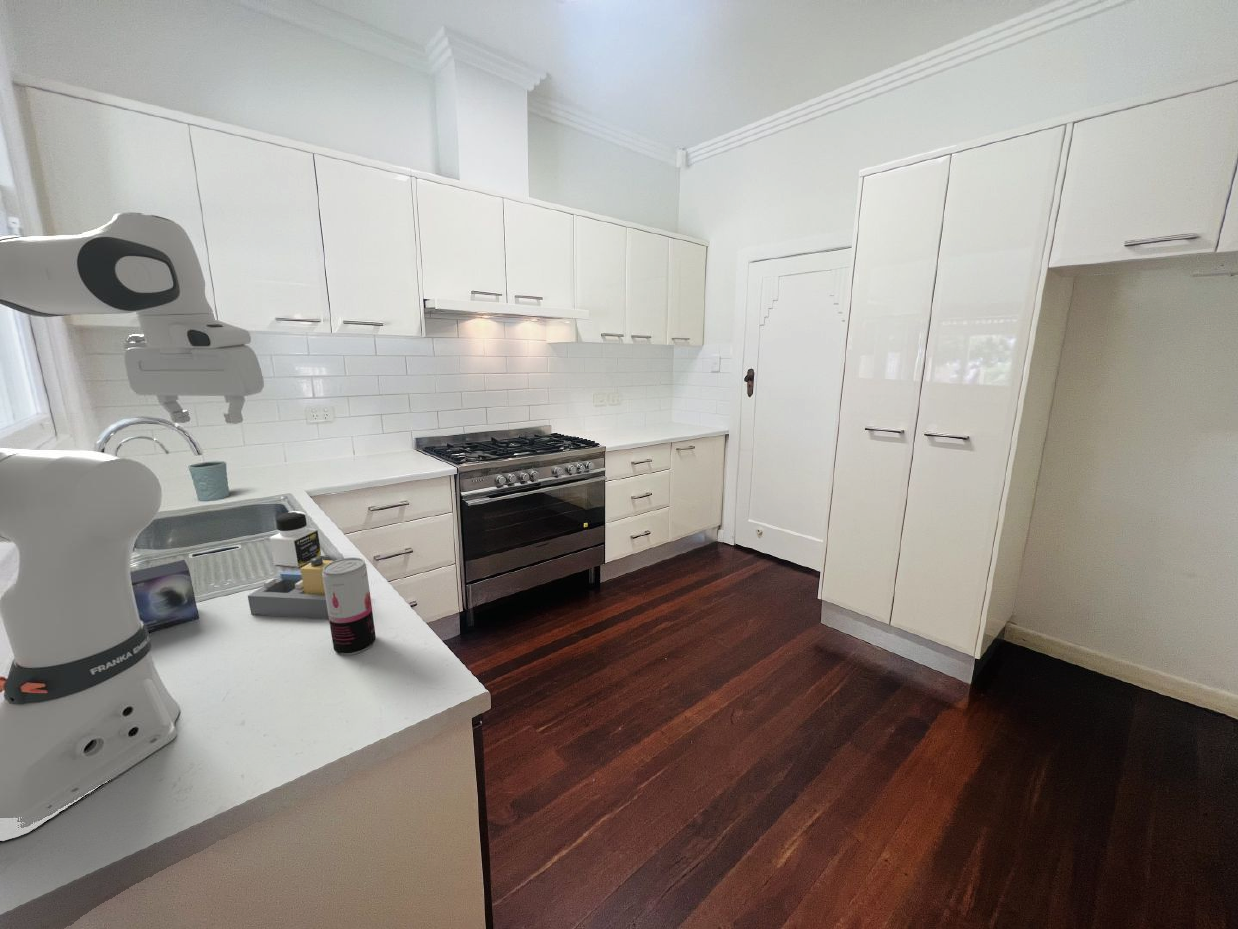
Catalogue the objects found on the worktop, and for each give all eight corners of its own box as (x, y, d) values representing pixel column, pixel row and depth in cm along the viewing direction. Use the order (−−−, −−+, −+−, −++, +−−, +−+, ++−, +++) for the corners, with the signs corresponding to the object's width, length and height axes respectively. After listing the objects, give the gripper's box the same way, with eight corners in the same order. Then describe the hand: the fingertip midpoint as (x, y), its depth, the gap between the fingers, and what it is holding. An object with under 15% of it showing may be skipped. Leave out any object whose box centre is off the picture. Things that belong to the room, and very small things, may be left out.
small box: (124, 642, 88) (109, 587, 86) (122, 628, 93) (108, 576, 90) (200, 618, 96) (189, 568, 93) (195, 607, 100) (184, 558, 98)
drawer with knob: (326, 611, 98) (318, 563, 96) (307, 610, 99) (299, 562, 96) (339, 601, 102) (332, 555, 100) (321, 600, 102) (314, 554, 100)
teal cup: (200, 503, 167) (192, 468, 164) (191, 498, 173) (184, 464, 170) (236, 496, 175) (230, 463, 172) (226, 491, 181) (220, 459, 178)
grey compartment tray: (328, 618, 95) (325, 595, 94) (251, 614, 97) (246, 591, 96) (357, 596, 104) (354, 573, 103) (286, 592, 106) (282, 570, 105)
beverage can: (384, 638, 89) (374, 560, 85) (353, 659, 83) (340, 576, 79) (357, 631, 91) (346, 554, 88) (325, 651, 85) (311, 570, 82)
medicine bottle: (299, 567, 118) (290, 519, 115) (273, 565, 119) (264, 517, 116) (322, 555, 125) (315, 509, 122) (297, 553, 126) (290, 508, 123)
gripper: (99, 336, 74) (130, 426, 79) (224, 335, 72) (249, 428, 76) (142, 333, 80) (169, 417, 84) (259, 331, 78) (280, 418, 82)
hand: (208, 422), depth 80 cm, fingers open, 8 cm apart
